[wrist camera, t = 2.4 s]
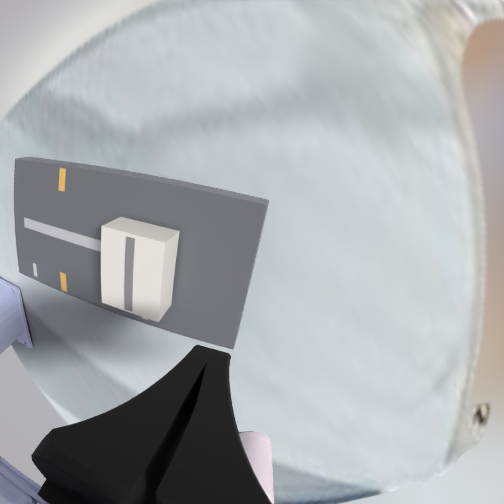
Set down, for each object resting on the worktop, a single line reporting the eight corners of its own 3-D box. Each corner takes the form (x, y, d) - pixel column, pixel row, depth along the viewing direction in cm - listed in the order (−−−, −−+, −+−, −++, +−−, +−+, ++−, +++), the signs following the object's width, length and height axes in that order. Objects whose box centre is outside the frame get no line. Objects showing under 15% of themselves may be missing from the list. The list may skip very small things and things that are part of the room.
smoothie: (209, 439, 26) (175, 554, 13) (245, 415, 24) (214, 554, 11) (258, 462, 27) (240, 570, 14) (298, 440, 25) (289, 567, 12)
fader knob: (118, 287, 19) (101, 303, 17) (120, 216, 17) (100, 226, 15) (171, 304, 19) (158, 323, 17) (179, 231, 17) (164, 243, 15)
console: (29, 266, 22) (19, 272, 20) (27, 156, 18) (14, 159, 17) (236, 336, 21) (233, 349, 20) (269, 200, 17) (267, 205, 16)
